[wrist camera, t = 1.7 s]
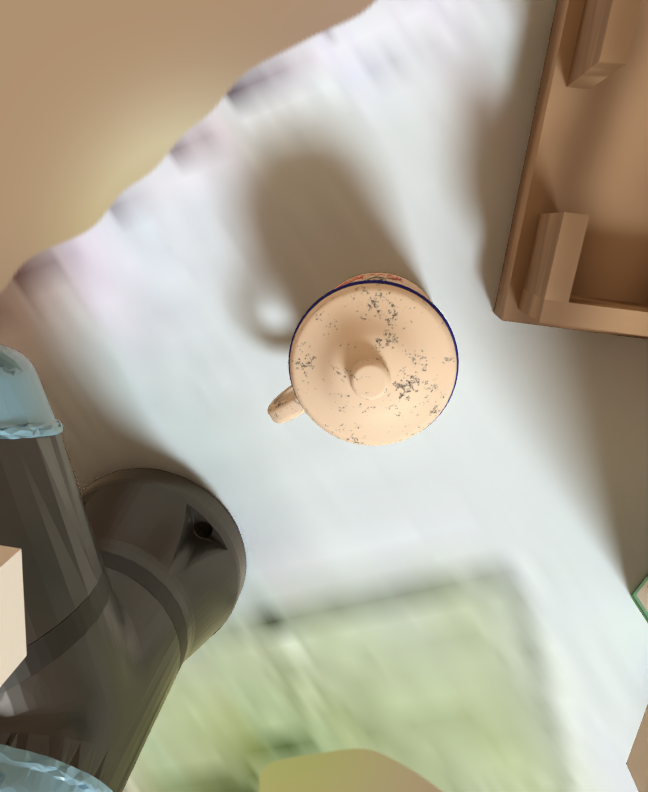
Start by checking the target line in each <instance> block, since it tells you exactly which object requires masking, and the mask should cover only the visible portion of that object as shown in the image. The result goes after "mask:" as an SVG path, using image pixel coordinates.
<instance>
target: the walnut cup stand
mask: <svg viewBox="0 0 648 792" xmlns="http://www.w3.org/2000/svg"><path fill="white" fill-rule="evenodd" d="M494 314H496V315H497V316H498V317H499V318H500V319H501V320H504V321H511V322H519V323H527V324H535V325H542V326H550V327H558V328H566V329H573V330H581V331H589V332H597V333H604V334H612V335H620V336H628V337H635V338H643V339H648V0H557V5H556V10H555V15H554V20H553V25H552V29H551V34H550V39H549V44H548V49H547V54H546V59H545V64H544V69H543V74H542V79H541V83H540V88H539V93H538V98H537V103H536V108H535V113H534V118H533V123H532V128H531V133H530V137H529V142H528V147H527V152H526V157H525V162H524V167H523V172H522V177H521V182H520V187H519V191H518V196H517V201H516V206H515V211H514V216H513V221H512V226H511V231H510V236H509V241H508V245H507V250H506V255H505V260H504V265H503V270H502V275H501V280H500V285H499V290H498V295H497V299H496V304H495V309H494Z"/></svg>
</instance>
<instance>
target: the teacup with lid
mask: <svg viewBox="0 0 648 792" xmlns="http://www.w3.org/2000/svg"><path fill="white" fill-rule="evenodd" d="M288 363H289V375H290V380H291V384H292V385H291V386H289V387H288V388H287V389H285V390H284V391H283V392H282V393H281V394H279V395H278V396H277V397H276V398H275V399H274V400H273V401H272V402H271V404H270V405H269V407H268V414H269V415H270V417H271V418H272V420H273V421H274V422H276V423H284V422H287V421H290V420H292V419H294V418H296V417H298V416H299V415H301V414H303V413H305V412H306V413H307V414H308V416H309V417H310V418H311V419H312V420H313V421H314V422H315V423H316V424H317V425H318V426H320V427H321V428H322V429H324V430H325V431H326V432H328V433H330V434H331V435H333V436H335V437H337V438H339V439H342V440H344V441H347V442H351V443H355V444H360V445H372V446H377V445H387V444H392V443H396V442H400V441H402V440H405V439H408V438H410V437H412V436H414V435H416V434H417V433H419V432H421V431H422V430H424V429H425V428H426V427H428V426H429V425H430V424H431V423H432V422H433V421H434V420H435V419H436V418H437V417H438V416H439V415H440V414H441V412H442V411H443V410H444V408H445V407H446V405H447V403H448V402H449V400H450V398H451V396H452V393H453V391H454V388H455V385H456V380H457V375H458V363H459V361H458V350H457V345H456V341H455V338H454V335H453V332H452V330H451V328H450V326H449V324H448V322H447V320H446V319H445V317H444V316H443V314H442V313H441V312H440V311H439V310H438V308H437V307H436V306H435V305H434V304H433V303H432V302H431V300H430V299H429V298H428V296H427V295H426V294H425V293H424V292H423V291H422V290H421V289H420V288H419V287H418V286H416V285H415V284H414V283H412V282H410V281H409V280H407V279H405V278H402V277H400V276H397V275H394V274H389V273H380V272H375V273H365V274H361V275H357V276H355V277H352V278H350V279H348V280H346V281H344V282H342V283H341V284H339V285H338V286H337V287H335V288H334V289H333V290H332V291H330V292H328V293H327V294H325V295H324V296H322V297H321V298H320V299H319V300H317V301H316V302H315V303H314V304H313V305H312V306H311V307H310V308H309V309H308V310H307V312H306V313H305V314H304V316H303V317H302V319H301V320H300V322H299V324H298V326H297V328H296V330H295V332H294V335H293V338H292V341H291V345H290V350H289V362H288Z"/></svg>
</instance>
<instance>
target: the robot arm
mask: <svg viewBox="0 0 648 792" xmlns="http://www.w3.org/2000/svg"><path fill="white" fill-rule="evenodd" d="M61 432H63V425H62V423H61V422H60V421H59V420H58V419H56V418H55V417H54V414H53V412H52V409H51V407H50V404H49V402H48V399H47V397H46V394H45V392H44V389H43V387H42V384H41V382H40V379H39V377H38V374H37V372H36V370H35V368H34V366H33V364H32V363H31V362H30V360H29V359H28V358H27V357H26V356H24V355H23V354H22V353H20V352H19V351H17V350H15V349H13V348H11V347H8V346H5V345H1V344H0V792H122V791H123V789H124V787H125V785H126V783H127V780H128V778H129V776H130V774H131V772H132V770H133V767H134V765H135V763H136V761H137V759H138V757H139V755H140V752H141V750H142V748H143V746H144V744H145V742H146V739H147V737H148V735H149V733H150V731H151V729H152V727H153V725H154V722H155V720H156V718H157V716H158V714H159V712H160V710H161V708H162V706H163V703H164V701H165V699H166V697H167V695H168V693H169V691H170V689H171V687H172V684H173V682H174V680H175V678H176V675H177V673H178V671H179V669H180V667H181V665H182V663H183V662H184V661H185V660H186V659H187V658H188V657H189V656H191V655H192V654H193V653H194V652H195V651H196V650H197V649H198V648H199V647H200V646H202V645H203V644H204V643H205V642H206V641H207V640H208V639H209V638H210V637H211V636H212V635H214V634H215V633H216V632H217V631H218V630H219V629H220V628H221V627H222V626H223V624H224V623H225V622H226V620H227V619H228V618H229V616H230V614H231V613H232V611H233V609H234V607H235V605H236V602H237V600H238V597H239V595H240V593H241V590H242V588H243V584H244V581H245V575H246V554H245V548H244V544H243V541H242V538H241V535H240V533H239V530H238V528H237V526H236V524H235V523H234V521H233V519H232V518H231V516H230V515H229V513H228V512H227V511H226V510H225V508H224V507H223V506H222V505H221V504H220V503H219V502H218V501H217V500H216V499H215V498H214V497H213V496H212V495H211V494H209V493H208V492H207V491H206V490H204V489H203V488H201V487H200V486H198V485H197V484H195V483H193V482H191V481H189V480H187V479H185V478H183V477H181V476H178V475H175V474H172V473H169V472H165V471H161V470H155V469H143V468H139V469H127V470H121V471H117V472H114V473H111V474H108V475H106V476H104V477H102V478H100V479H98V480H96V481H95V482H93V483H92V484H91V485H89V486H88V487H87V488H86V489H85V490H83V491H82V492H81V493H80V490H79V487H78V484H77V481H76V478H75V475H74V472H73V469H72V466H71V463H70V461H69V458H68V455H67V452H66V449H65V446H64V443H63V440H62V437H61V434H60V433H61ZM626 764H627V766H628V769H629V771H630V773H631V775H632V778H633V780H634V782H635V784H636V786H637V789H638V791H639V792H648V706H647V708H646V711H645V714H644V716H643V719H642V722H641V725H640V727H639V730H638V733H637V736H636V738H635V741H634V744H633V747H632V749H631V752H630V755H629V757H628V760H627V763H626Z"/></svg>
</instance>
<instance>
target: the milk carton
mask: <svg viewBox="0 0 648 792" xmlns="http://www.w3.org/2000/svg"><path fill="white" fill-rule="evenodd" d="M631 598H632V599H633V601H634V602H635V604H636V606H637V607H638V609H639V610H640V612H641V613H642V615H643V616H644V618H645V620H646V621H647V623H648V576H647V577H646V578H645V579H644V581H643V582H642V583H641V584H640V586H639V587H638V588H637V589H636V591H635V592H634V593H633V594H632V596H631Z"/></svg>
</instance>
